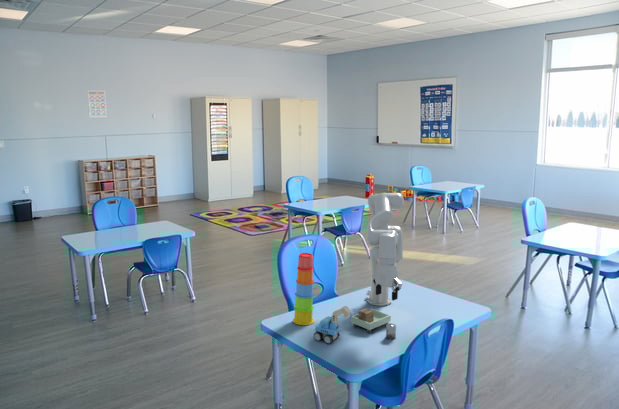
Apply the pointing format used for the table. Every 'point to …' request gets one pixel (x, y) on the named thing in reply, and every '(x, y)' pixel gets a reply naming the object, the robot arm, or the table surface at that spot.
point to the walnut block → (366, 315)
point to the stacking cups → (304, 290)
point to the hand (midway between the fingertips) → (386, 296)
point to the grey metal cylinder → (391, 331)
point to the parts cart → (378, 320)
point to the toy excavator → (330, 326)
